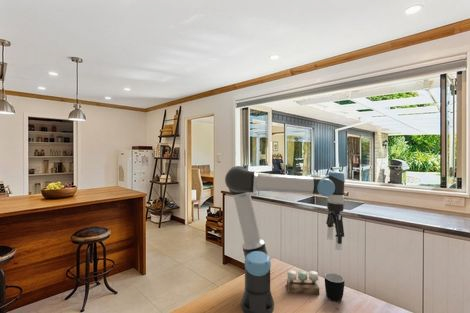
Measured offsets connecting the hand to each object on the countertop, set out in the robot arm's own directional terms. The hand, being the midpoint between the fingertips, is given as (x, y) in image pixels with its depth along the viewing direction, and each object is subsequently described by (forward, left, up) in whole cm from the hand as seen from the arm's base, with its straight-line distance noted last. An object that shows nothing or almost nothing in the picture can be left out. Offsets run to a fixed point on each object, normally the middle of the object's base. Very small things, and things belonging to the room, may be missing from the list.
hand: (334, 244), depth 125 cm
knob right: (-10, +2, -21) cm, 23 cm away
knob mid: (-15, +2, -21) cm, 26 cm away
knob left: (-21, +2, -21) cm, 30 cm away
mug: (-1, -3, -25) cm, 25 cm away
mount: (-15, +2, -25) cm, 29 cm away
